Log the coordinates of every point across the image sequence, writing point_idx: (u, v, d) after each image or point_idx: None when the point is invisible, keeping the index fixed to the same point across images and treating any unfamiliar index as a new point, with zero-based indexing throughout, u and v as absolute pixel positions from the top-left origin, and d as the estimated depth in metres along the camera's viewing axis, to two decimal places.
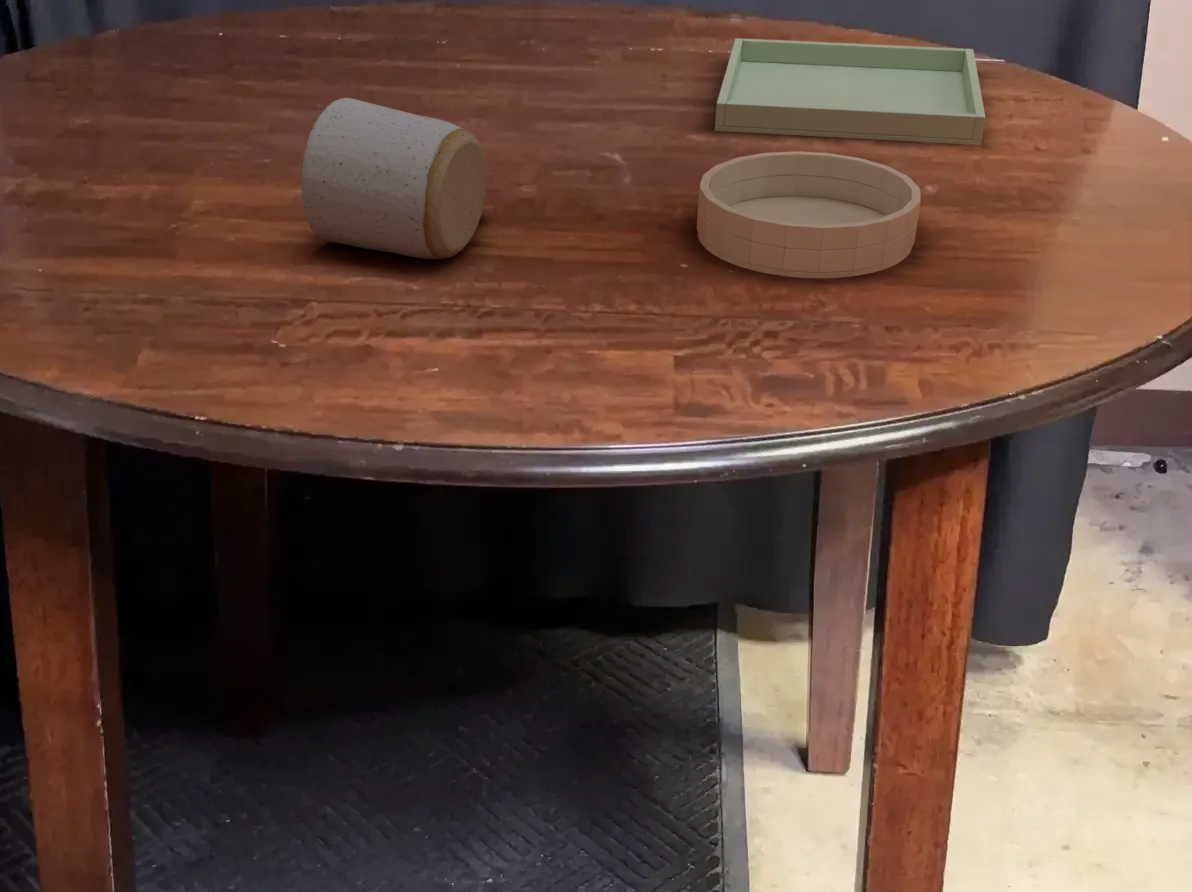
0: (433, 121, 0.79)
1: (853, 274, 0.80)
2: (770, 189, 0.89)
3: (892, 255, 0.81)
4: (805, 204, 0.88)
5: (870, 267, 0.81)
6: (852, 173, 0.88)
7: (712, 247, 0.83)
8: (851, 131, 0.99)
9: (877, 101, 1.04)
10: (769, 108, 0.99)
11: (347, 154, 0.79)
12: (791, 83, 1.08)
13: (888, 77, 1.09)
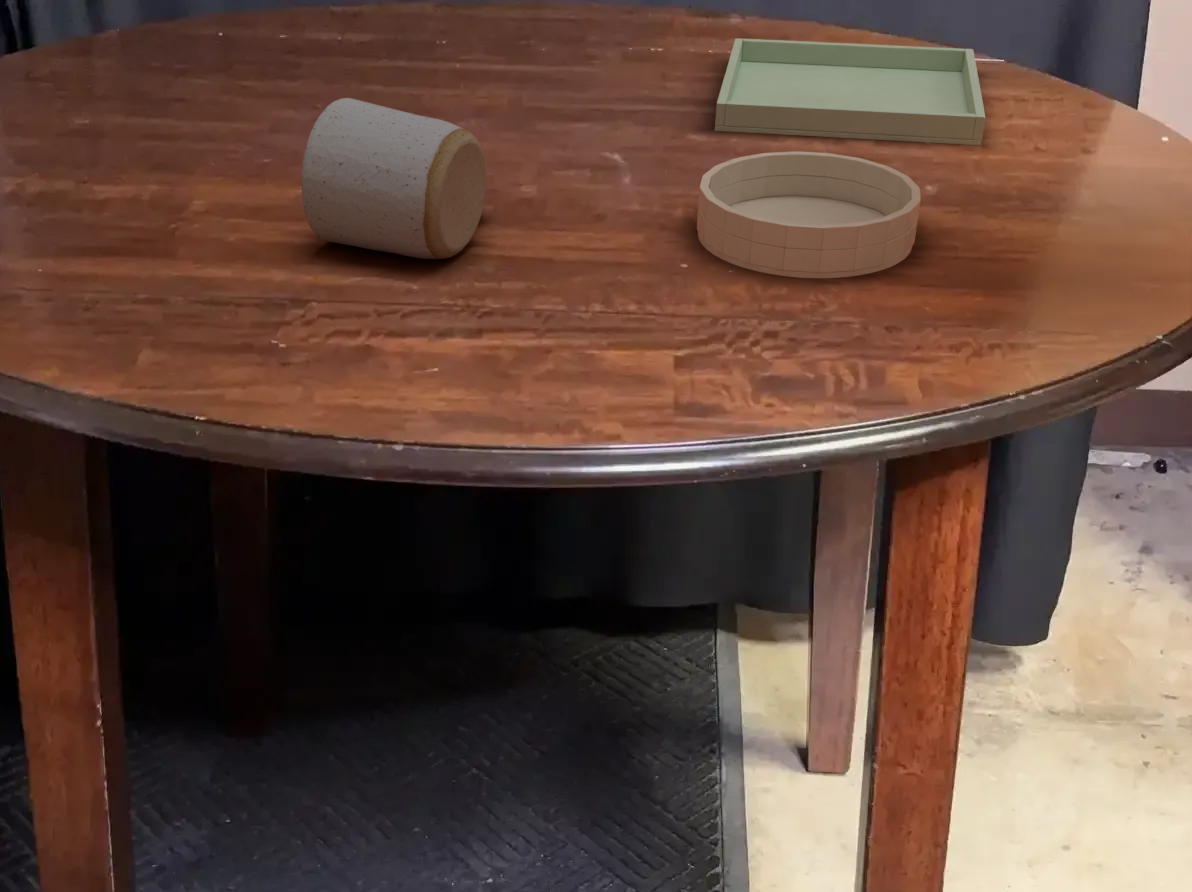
0: (433, 121, 0.79)
1: (853, 274, 0.80)
2: (770, 189, 0.89)
3: (892, 255, 0.81)
4: (805, 204, 0.88)
5: (870, 267, 0.81)
6: (852, 173, 0.88)
7: (712, 247, 0.83)
8: (851, 131, 0.99)
9: (877, 101, 1.04)
10: (769, 108, 0.99)
11: (347, 154, 0.79)
12: (791, 83, 1.08)
13: (888, 77, 1.09)
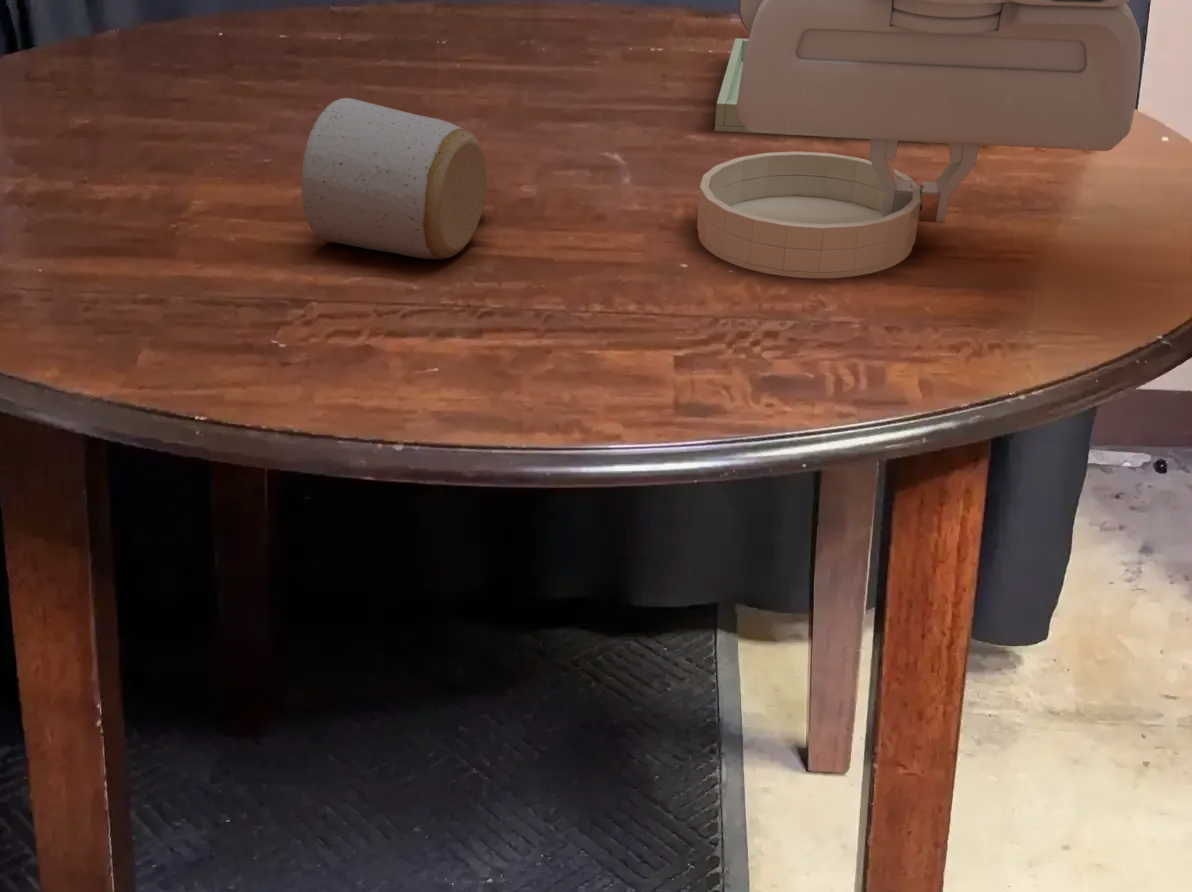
0: (433, 121, 0.79)
1: (853, 274, 0.80)
2: (770, 189, 0.89)
3: (892, 255, 0.81)
4: (805, 204, 0.88)
5: (871, 267, 0.81)
6: (852, 173, 0.88)
7: (713, 247, 0.83)
8: None
9: None
10: None
11: (347, 154, 0.79)
12: None
13: None
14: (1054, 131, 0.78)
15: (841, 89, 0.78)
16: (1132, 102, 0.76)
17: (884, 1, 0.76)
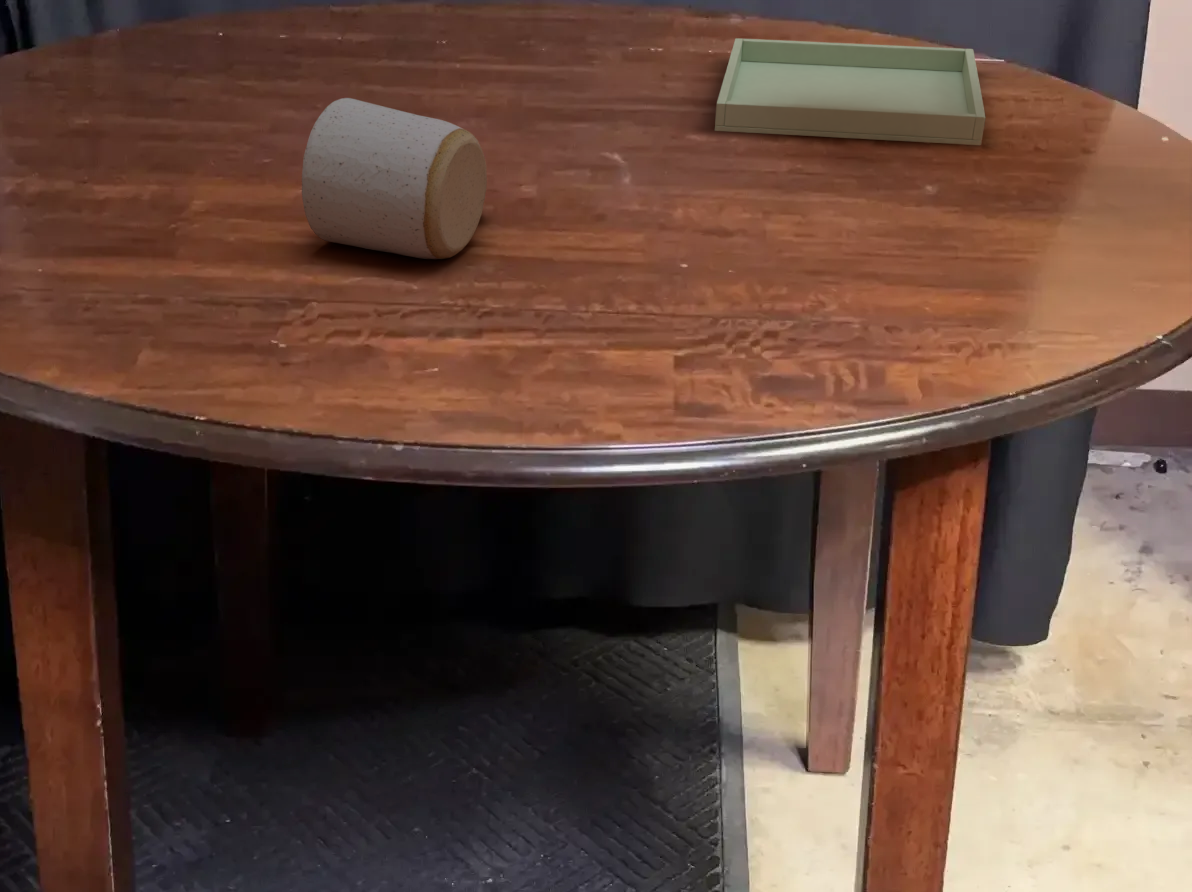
0: (433, 121, 0.79)
1: None
2: None
3: None
4: None
5: None
6: None
7: None
8: (851, 131, 0.99)
9: (877, 101, 1.04)
10: (769, 108, 0.99)
11: (347, 154, 0.79)
12: (791, 83, 1.08)
13: (888, 77, 1.09)
14: None
15: None
16: None
17: None
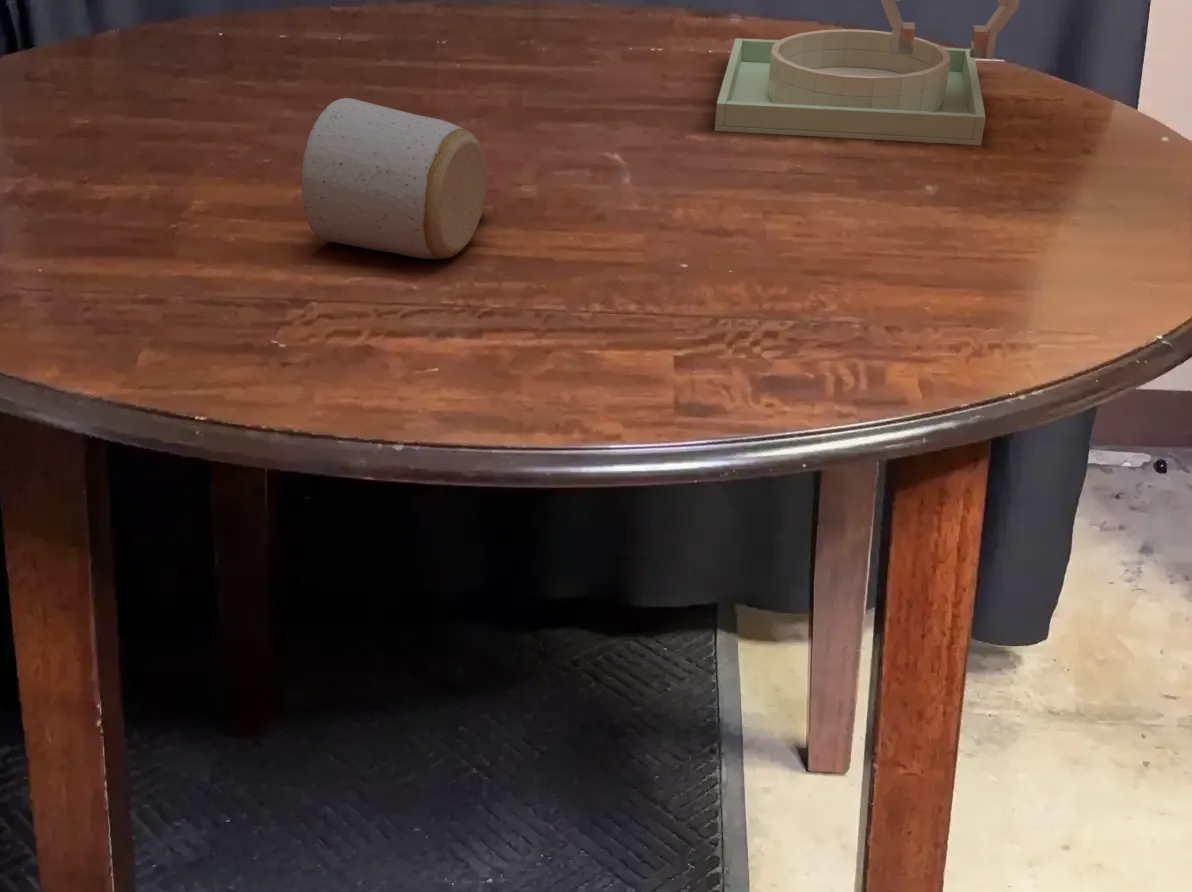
0: (433, 121, 0.79)
1: None
2: (825, 61, 1.09)
3: (927, 104, 1.01)
4: (854, 72, 1.08)
5: None
6: None
7: (782, 100, 1.03)
8: (851, 131, 0.99)
9: None
10: (769, 108, 0.99)
11: (347, 154, 0.79)
12: None
13: None
14: None
15: None
16: None
17: None
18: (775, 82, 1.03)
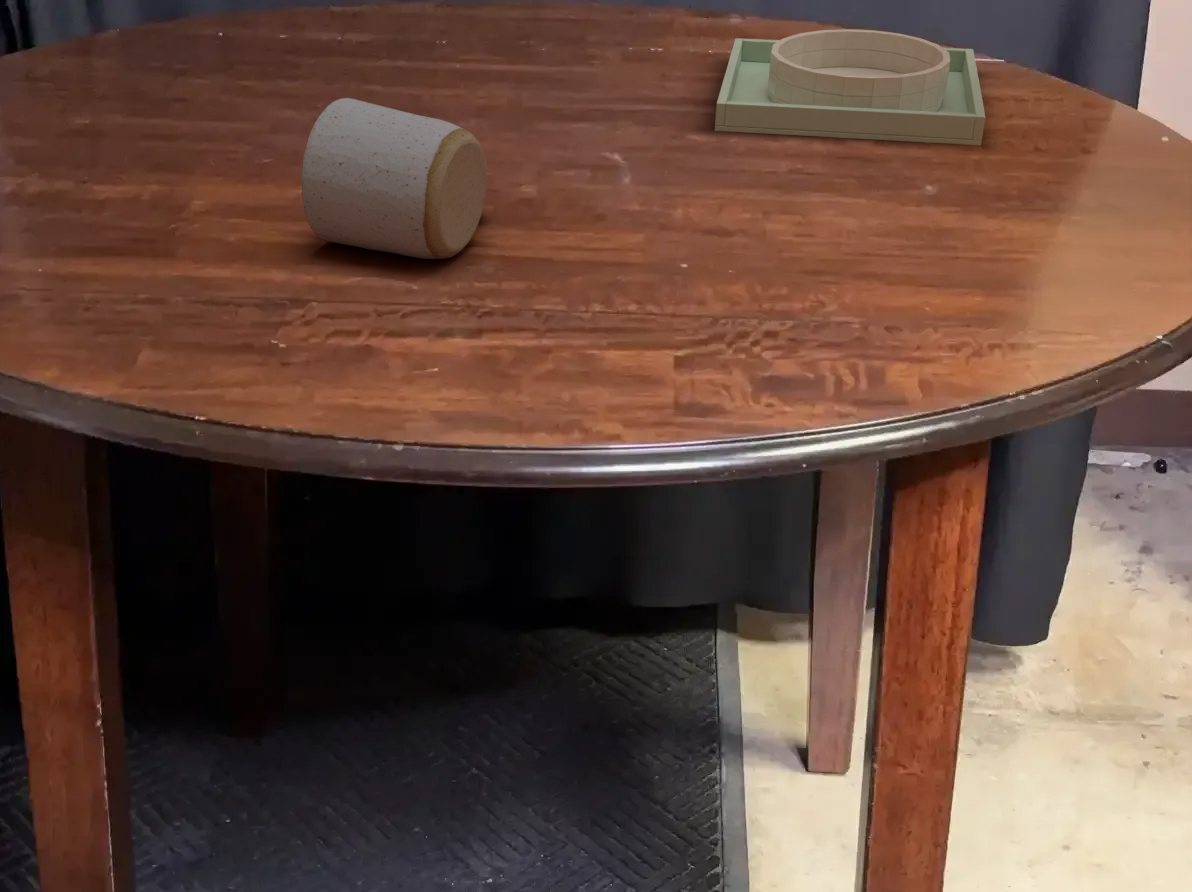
0: (433, 121, 0.79)
1: None
2: (825, 61, 1.09)
3: (927, 104, 1.01)
4: (854, 72, 1.08)
5: None
6: (892, 46, 1.08)
7: (782, 100, 1.03)
8: (851, 131, 0.99)
9: None
10: (769, 108, 0.99)
11: (347, 154, 0.79)
12: None
13: None
14: None
15: None
16: None
17: None
18: (775, 82, 1.03)
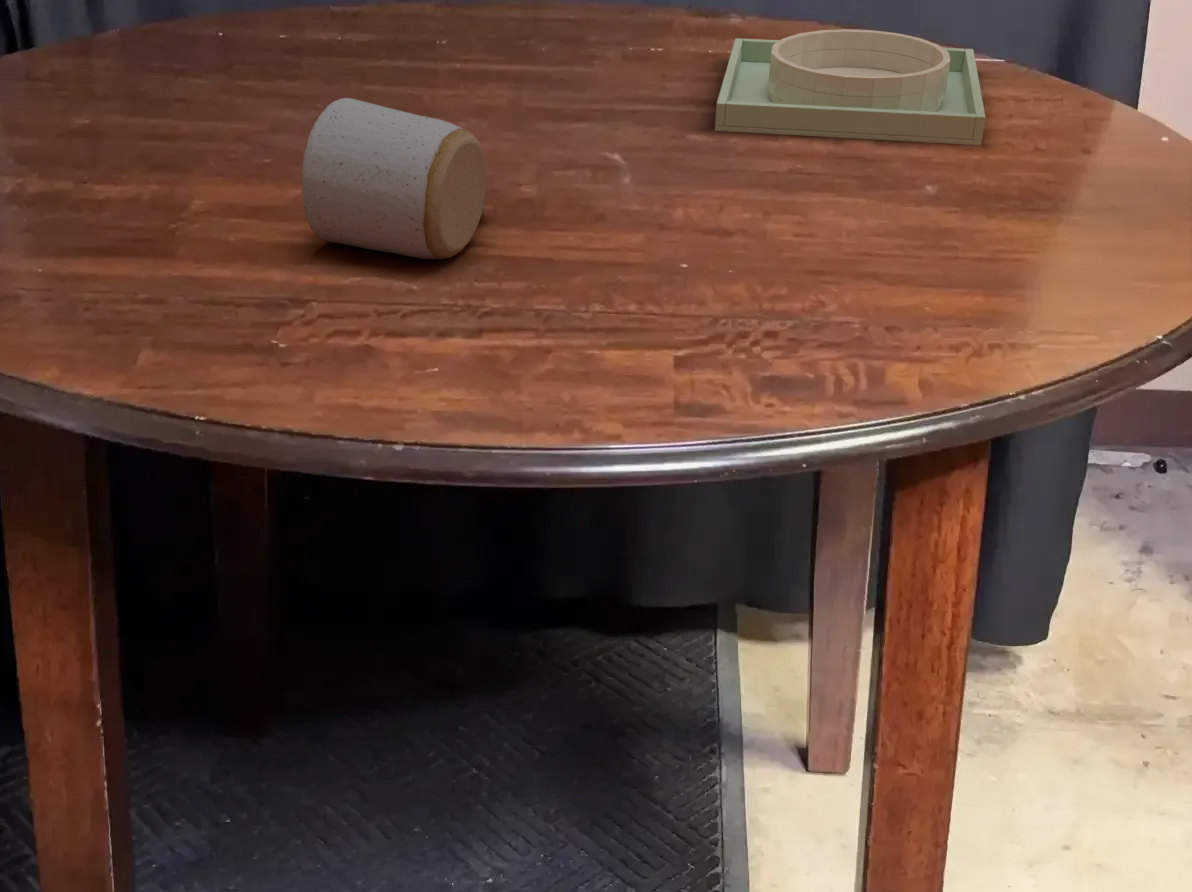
0: (433, 121, 0.79)
1: None
2: (825, 61, 1.09)
3: (927, 104, 1.01)
4: (854, 72, 1.08)
5: None
6: (892, 46, 1.08)
7: (782, 100, 1.03)
8: (851, 131, 0.99)
9: None
10: (769, 108, 0.99)
11: (347, 154, 0.79)
12: None
13: None
14: None
15: None
16: None
17: None
18: (775, 82, 1.03)
